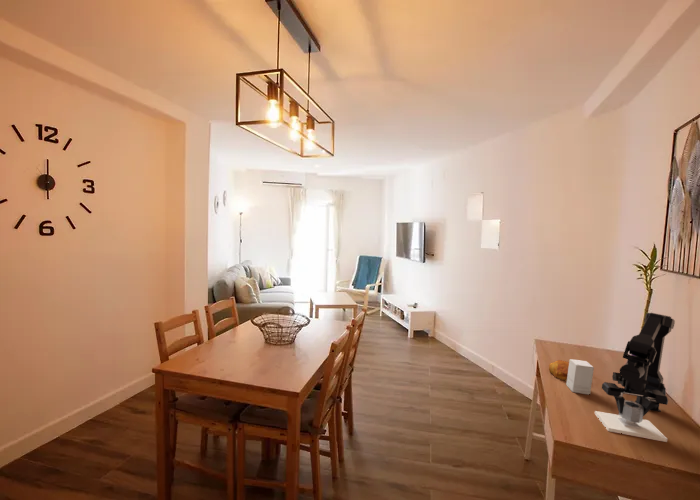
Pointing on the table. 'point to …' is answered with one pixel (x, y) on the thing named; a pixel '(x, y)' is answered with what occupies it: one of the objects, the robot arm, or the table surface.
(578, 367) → the supplement box
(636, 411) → the tube
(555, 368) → the croissant
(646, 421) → the shaft stand
